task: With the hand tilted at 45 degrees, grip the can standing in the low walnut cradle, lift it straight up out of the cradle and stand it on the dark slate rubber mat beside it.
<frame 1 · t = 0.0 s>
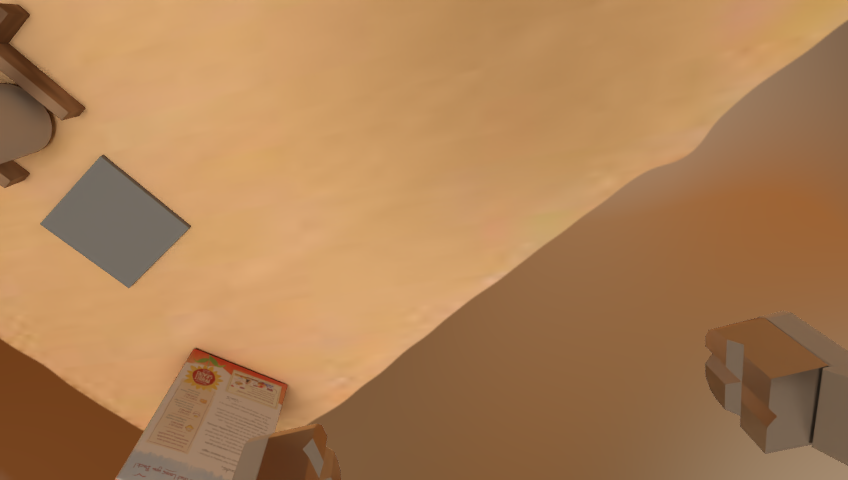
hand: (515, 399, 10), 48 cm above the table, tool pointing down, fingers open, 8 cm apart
walnut cradle: (19, 118, 52), on the table
can: (21, 117, 52), on the table
slate mat: (118, 224, 57), on the table
cracker box: (235, 379, 68), on the table
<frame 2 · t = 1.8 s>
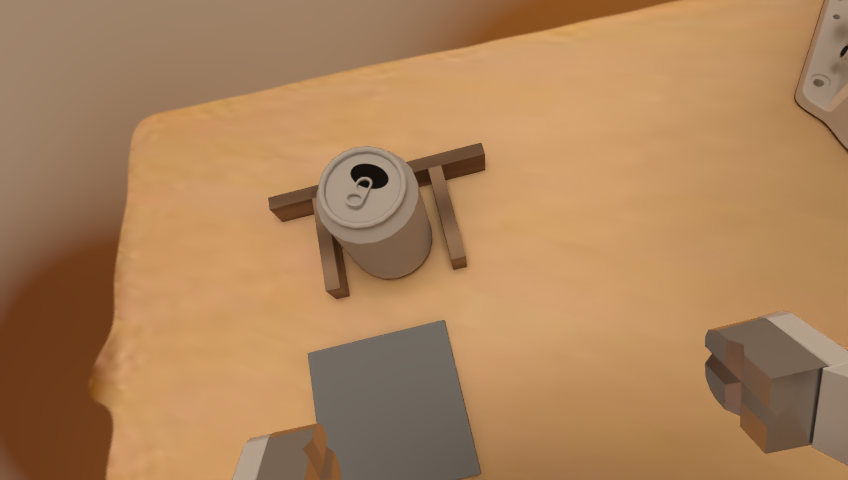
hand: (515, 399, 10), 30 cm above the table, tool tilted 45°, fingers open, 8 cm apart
walnut cradle: (392, 241, 43), on the table
can: (393, 242, 44), on the table
slate mat: (390, 409, 38), on the table
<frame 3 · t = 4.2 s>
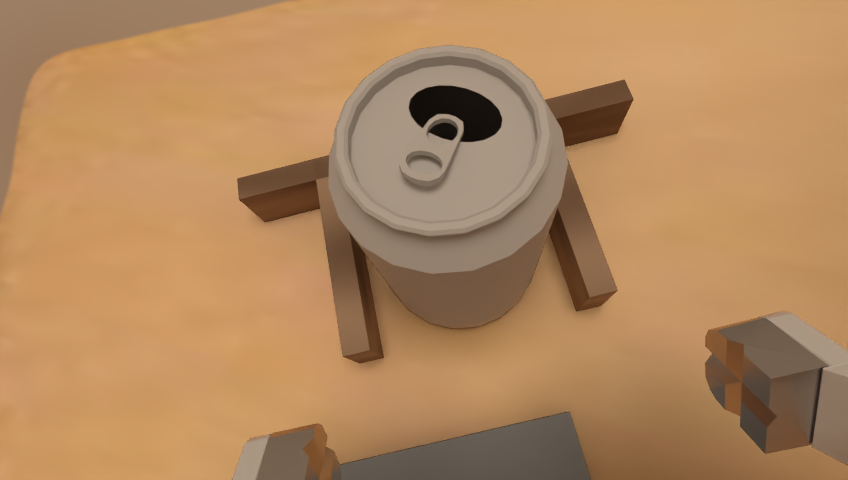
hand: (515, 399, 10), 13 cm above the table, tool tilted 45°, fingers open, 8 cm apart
walnut cradle: (459, 258, 24), on the table
can: (459, 259, 25), on the table
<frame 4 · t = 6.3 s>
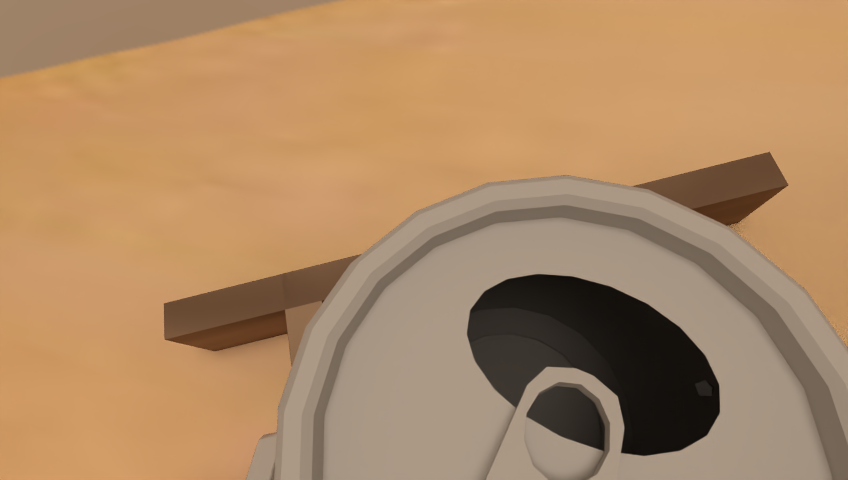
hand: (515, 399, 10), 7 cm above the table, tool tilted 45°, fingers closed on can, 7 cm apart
walnut cradle: (508, 423, 16), on the table
can: (507, 423, 16), on the table, touching gripper
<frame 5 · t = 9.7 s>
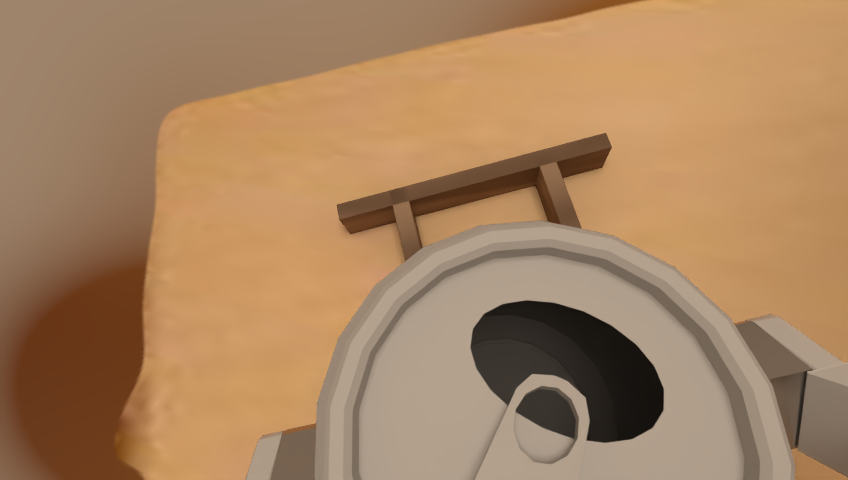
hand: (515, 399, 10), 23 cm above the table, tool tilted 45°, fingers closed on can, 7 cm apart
walnut cradle: (492, 258, 35), on the table
can: (504, 419, 18), point 14 cm above the table, touching gripper
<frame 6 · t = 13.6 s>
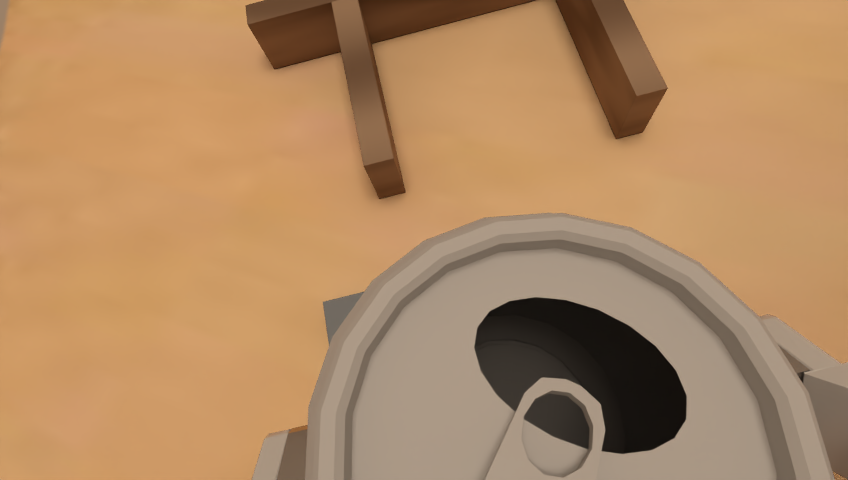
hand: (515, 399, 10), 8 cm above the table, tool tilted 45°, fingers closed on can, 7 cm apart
walnut cradle: (486, 94, 22), on the table
can: (507, 424, 17), resting on slate mat, touching gripper
slate mat: (507, 422, 17), on the table
when the fingers open (8 cm above the table, at t = 14.1 s): can stays where it is, resting on slate mat.
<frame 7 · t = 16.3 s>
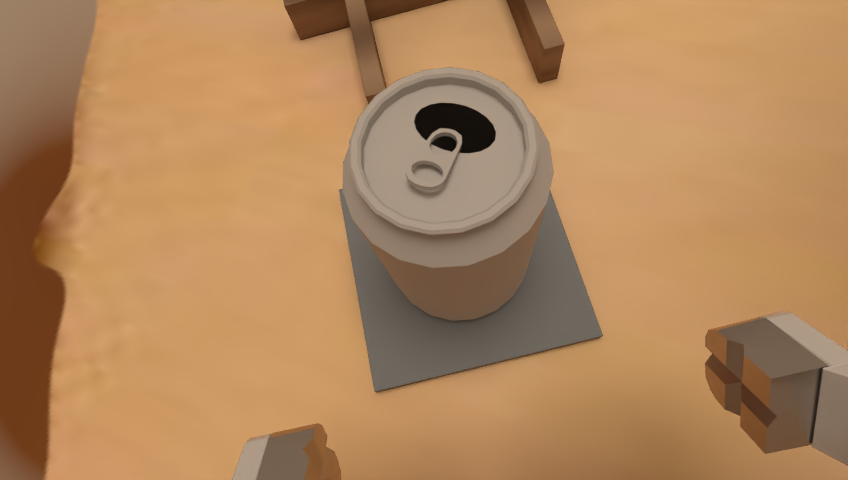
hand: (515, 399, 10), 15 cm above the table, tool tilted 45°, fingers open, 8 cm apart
walnut cradle: (451, 54, 32), on the table
can: (459, 258, 26), resting on slate mat
slate mat: (459, 259, 27), on the table
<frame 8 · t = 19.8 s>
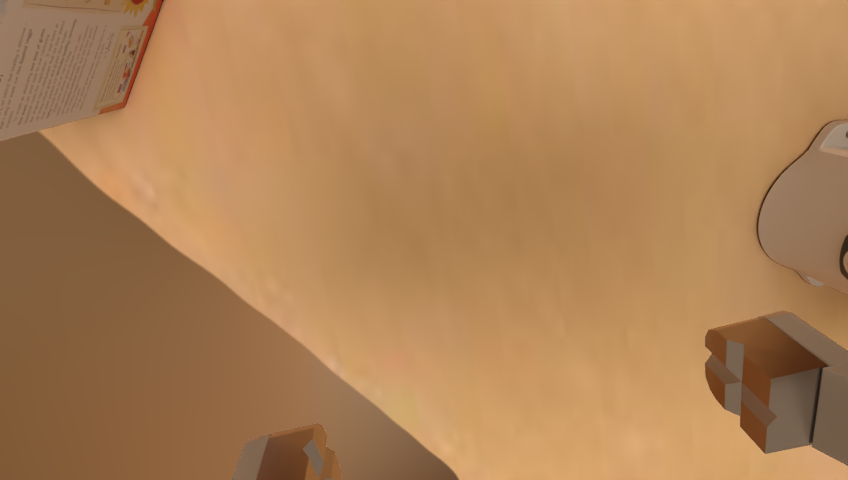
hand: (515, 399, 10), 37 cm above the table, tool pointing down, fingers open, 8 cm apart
cracker box: (117, 16, 39), on the table
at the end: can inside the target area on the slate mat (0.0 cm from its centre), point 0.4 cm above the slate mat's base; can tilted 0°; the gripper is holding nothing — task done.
